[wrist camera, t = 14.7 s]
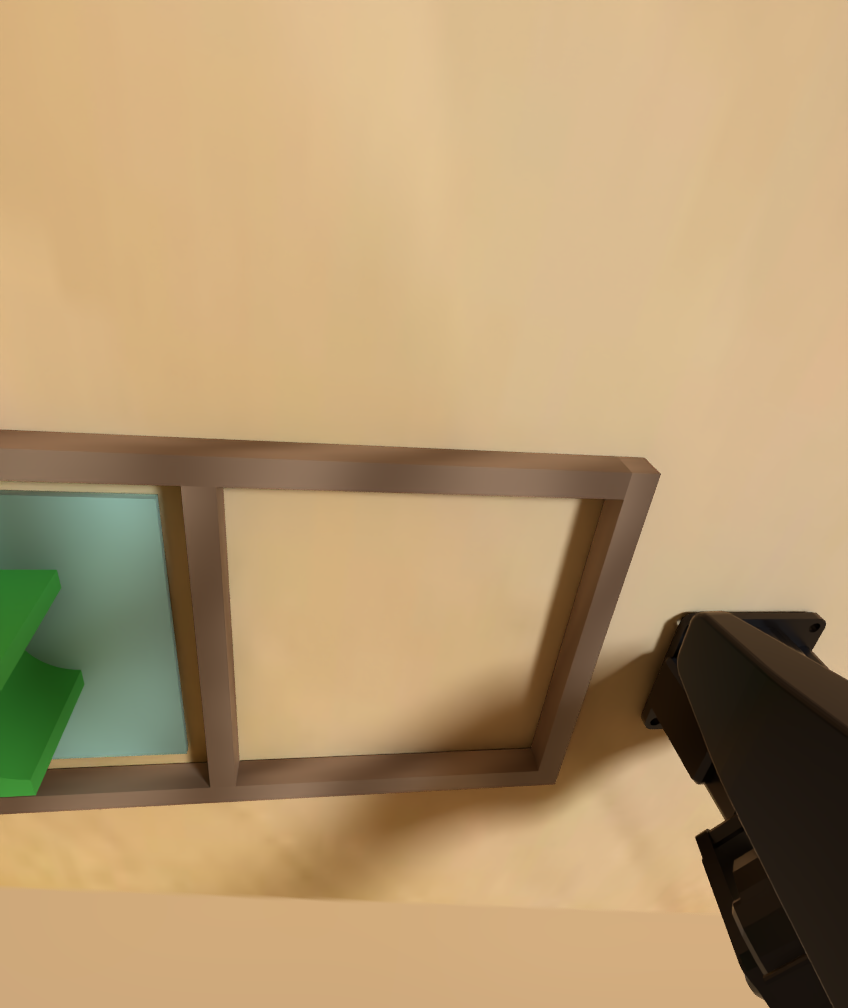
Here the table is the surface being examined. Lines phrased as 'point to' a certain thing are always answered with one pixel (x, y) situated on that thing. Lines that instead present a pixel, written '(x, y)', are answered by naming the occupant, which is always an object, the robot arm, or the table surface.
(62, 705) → the pipe clamp
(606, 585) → the sorting frame
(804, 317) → the table surface
